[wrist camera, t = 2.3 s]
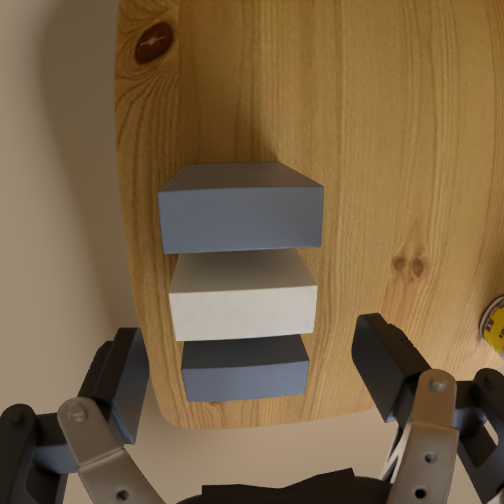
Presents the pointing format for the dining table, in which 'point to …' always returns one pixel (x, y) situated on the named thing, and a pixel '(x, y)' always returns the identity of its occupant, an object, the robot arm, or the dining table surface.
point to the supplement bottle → (494, 326)
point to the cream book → (241, 295)
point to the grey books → (237, 239)
